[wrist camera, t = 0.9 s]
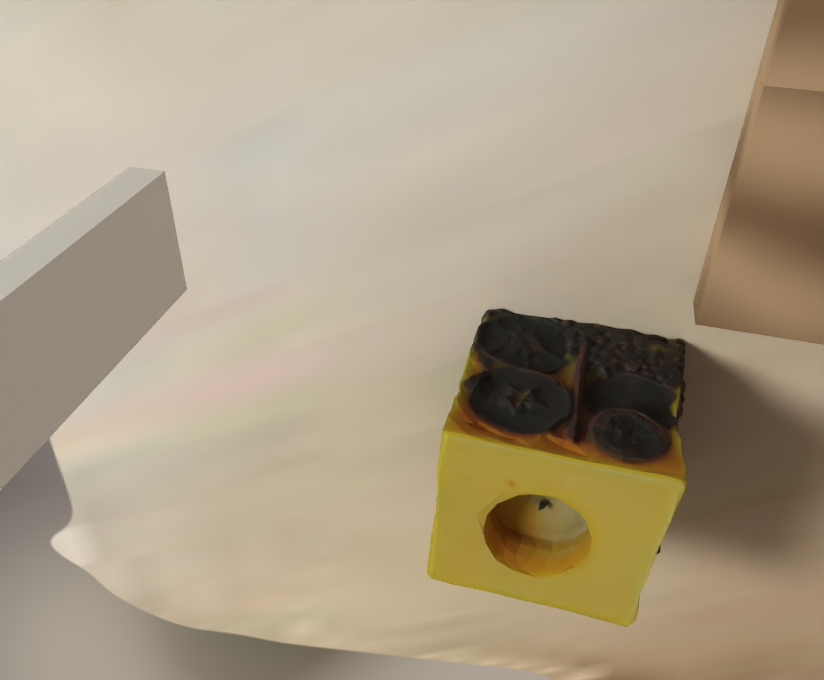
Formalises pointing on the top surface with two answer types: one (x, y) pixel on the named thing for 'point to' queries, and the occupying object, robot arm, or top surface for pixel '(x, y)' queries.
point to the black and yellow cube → (560, 464)
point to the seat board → (775, 194)
